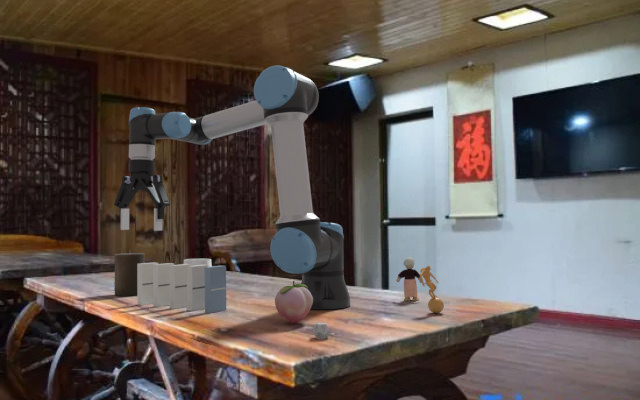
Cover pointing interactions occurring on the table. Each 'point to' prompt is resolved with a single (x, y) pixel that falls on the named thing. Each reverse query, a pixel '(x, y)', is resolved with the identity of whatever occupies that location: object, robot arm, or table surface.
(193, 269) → the domino
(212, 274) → the blue domino
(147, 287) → the domino
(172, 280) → the domino
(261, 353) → the table surface
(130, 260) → the pillar candle
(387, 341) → the table surface
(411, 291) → the grandmother figurine
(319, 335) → the game die
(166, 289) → the domino
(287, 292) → the decorative fruit
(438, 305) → the figurine
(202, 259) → the cup
